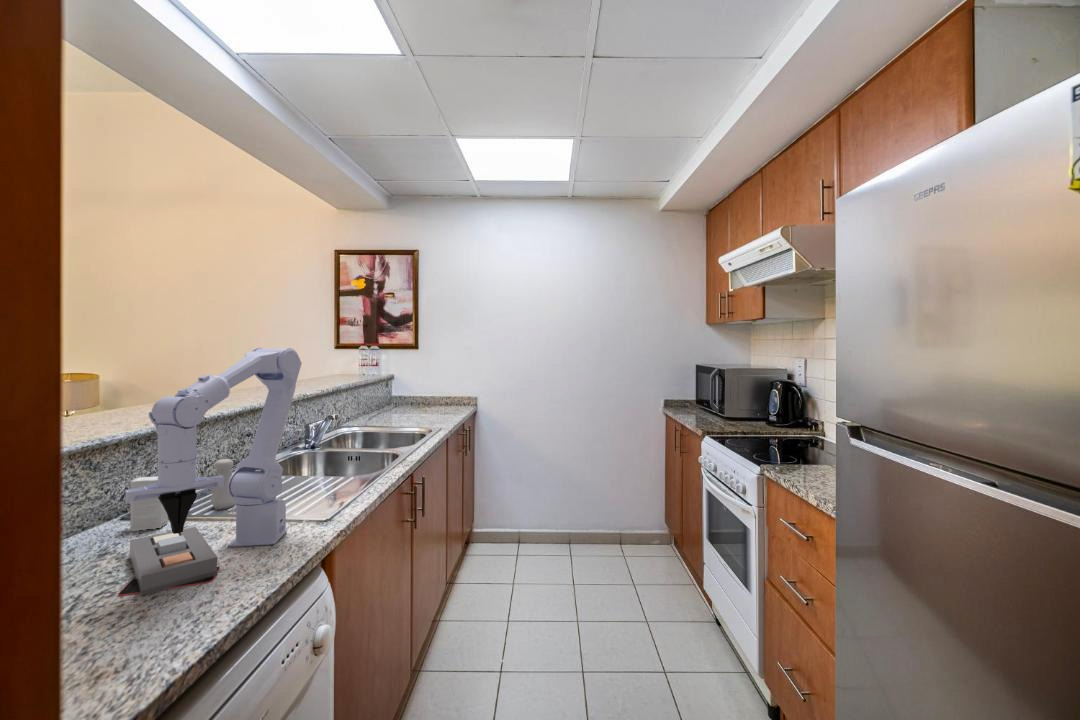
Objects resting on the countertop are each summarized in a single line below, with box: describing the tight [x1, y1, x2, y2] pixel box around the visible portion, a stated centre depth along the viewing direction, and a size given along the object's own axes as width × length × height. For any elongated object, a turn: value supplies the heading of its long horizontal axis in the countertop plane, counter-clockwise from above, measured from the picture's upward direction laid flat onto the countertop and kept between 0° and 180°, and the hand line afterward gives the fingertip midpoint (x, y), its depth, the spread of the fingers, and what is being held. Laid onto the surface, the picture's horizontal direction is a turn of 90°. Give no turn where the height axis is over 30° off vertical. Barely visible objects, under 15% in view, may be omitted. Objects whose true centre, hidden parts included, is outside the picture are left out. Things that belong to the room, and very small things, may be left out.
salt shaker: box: [210, 458, 235, 510], centre depth 128 cm, size 6×6×13 cm
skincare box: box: [129, 475, 169, 532], centre depth 112 cm, size 6×4×12 cm
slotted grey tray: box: [129, 526, 218, 597], centre depth 92 cm, size 22×11×4 cm, turn 45°
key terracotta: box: [162, 552, 193, 568], centre depth 87 cm, size 4×4×2 cm
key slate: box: [158, 535, 186, 555], centre depth 92 cm, size 4×4×2 cm
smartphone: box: [117, 566, 221, 598], centre depth 86 cm, size 7×1×14 cm
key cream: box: [153, 533, 179, 545], centre depth 97 cm, size 4×4×2 cm
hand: (177, 531), depth 88 cm, fingers closed
